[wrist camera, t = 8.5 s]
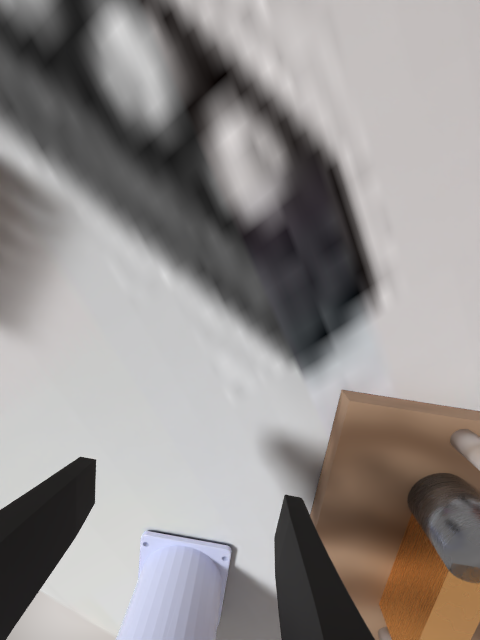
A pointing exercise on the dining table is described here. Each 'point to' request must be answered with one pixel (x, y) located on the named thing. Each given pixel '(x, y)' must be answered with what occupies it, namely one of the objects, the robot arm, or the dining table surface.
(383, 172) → the dining table surface
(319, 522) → the walnut board
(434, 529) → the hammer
